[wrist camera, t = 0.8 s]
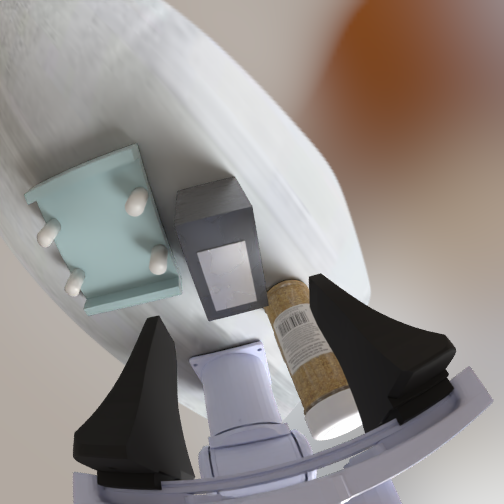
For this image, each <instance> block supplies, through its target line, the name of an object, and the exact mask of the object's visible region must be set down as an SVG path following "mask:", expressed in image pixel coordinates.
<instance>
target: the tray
mask: <svg viewBox="0 0 504 504" xmlns="http://www.w3.org/2000/svg"><path fill="white" fill-rule="evenodd" d="M24 196H25V199H26V201H27V204H28V205H29V204H31V203H33V202H35V201H37V203H38V206H39V208H40V211H41V213H42V215H43V218H44V220H45V222H46V225H45V226H44V227H43V228H42V229H41V230H40V232H39V233H38V234H37V241H38V243H39V244H40V245H41V246H42V247H48V246H49V245H50V244H51V243H52V241H53V240H54V241H55V244H56V246H57V248H58V249H59V251H60V253H61V255H62V257H63V259H64V261H65V263H66V265H67V267H68V268H69V270H70V272H71V275H70V277H69V279H68V281H67V283H66V285H65V291H66V293H67V294H68V295H70V296H73V297H75V296H77V295H78V294H79V291H80V289H81V291H82V292H83V294H84V296H85V297H86V299H87V300H86V303H85V306H84V311H85V312H86V314H87V315H88V316H90V315H95V314H99V313H104V312H108V311H113V310H117V309H122V308H126V307H130V306H135V305H139V304H143V303H148V302H152V301H156V300H160V299H165V298H169V297H173V296H177V295H181V294H182V278H181V275H180V273H179V270H178V267H177V265H176V262H175V259H174V257H173V254H172V251H171V249H170V246H169V243H168V240H167V237H166V235H165V232H164V229H163V226H162V223H161V220H160V217H159V214H158V211H157V208H156V205H155V202H154V199H153V196H152V193H151V189H150V186H149V183H148V180H147V176H146V173H145V169H144V166H143V163H142V159H141V155H140V152H139V148H138V145H137V143H136V144H133V145H130V146H127V147H124V148H121V149H119V150H116V151H113V152H110V153H108V154H105V155H103V156H100V157H97V158H95V159H92V160H90V161H87V162H85V163H83V164H80V165H78V166H76V167H73V168H71V169H69V170H67V171H64V172H62V173H60V174H58V175H56V176H54V177H52V178H50V179H48V180H46V181H44V182H42V183H40V184H38V185H36V186H35V187H33V188H32V189H31V190H29V191H28V192H27V193H26V194H24Z"/></svg>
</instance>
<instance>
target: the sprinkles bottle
mask: <svg viewBox="0 0 504 504" xmlns="http://www.w3.org/2000/svg"><path fill="white" fill-rule="evenodd" d="M267 297H268V303H269V306H266V307H263V308H264V310H265V313H266V314H267V315H268V318H269V320H270V323H271V326H272V328H273V331H274V336H275V339H276V342H277V344H278V347H279V349H280V352H281V355H282V357H283V360H284V362H285V363H286V365H287V368H288V370H289V373H290V376H291V378H292V380H293V383H294V385H295V388H296V391H297V393H298V395H299V397H300V399H301V402H302V405H303V407H304V415H305V421H306V423H307V426H308V428H309V430H310V433H311V435H312V437H313V438H314V439H316V440H327V439H331V438H335V437H337V436H340V435H343V434H345V433H347V432H349V431H351V430H353V429H355V428H357V427H358V426H360V425H362V421H361V418H360V415H359V412H358V409H357V406H356V403H355V400H354V398H353V395H352V392H351V390H350V387H349V385H348V382H347V380H346V378H345V375H344V373H343V371H342V368H341V366H340V364H339V362H338V360H337V358H336V356H335V355H334V353H333V351H332V350H331V348H330V346H329V344H328V343H327V341H326V339H325V338H324V336H323V334H322V332H321V331H320V329H319V327H318V325H317V323H316V321H315V319H314V317H313V314H312V312H311V309H310V304H309V289H308V287H307V286H306V285H305V284H304V283H303V282H301V281H298V280H286V281H283V282H280V283H278V284H277V285H275V286H274V287H272V288H271V289H270V290H269V291H268V292H267Z"/></svg>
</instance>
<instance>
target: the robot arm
mask: <svg viewBox="0 0 504 504" xmlns="http://www.w3.org/2000/svg"><path fill="white" fill-rule="evenodd" d="M309 304H310V309H311V312H312V314H313V317H314V319H315V321H316V323H317V325H318V327H319V329H320V331H321V332H322V334H323V336H324V338H325V339H326V341H327V343H328V344H329V346H330V348H331V350H332V351H333V353H334V355H335V356H336V358H337V360H338V362H339V364H340V366H341V368H342V371H343V373H344V375H345V378H346V380H347V382H348V385H349V387H350V390H351V392H352V395H353V398H354V400H355V403H356V406H357V409H358V412H359V415H360V418H361V421H362V424H363V428H364V431H365V434H363V435H361V436H358V437H356V438H354V439H352V440H349V441H347V442H344V443H342V444H339V445H337V446H334V447H332V448H329V449H327V450H324V451H321V452H318V453H315V454H313V452H312V449H311V446H310V444H309V442H308V440H307V439H306V437H305V436H304V435H303V434H302V433H300V432H299V431H297V430H295V429H294V430H290V429H289V426H288V424H287V423H283V422H282V419H281V416H280V413H279V409H278V406H277V403H276V400H275V397H274V394H273V391H272V388H271V383H272V382H271V378H270V373H269V369H268V364H267V359H266V355H265V350H264V346H263V343H262V342H255V343H251V344H247V345H244V346H240V347H236V348H232V349H228V350H223V351H219V352H215V353H211V354H206V355H202V356H197V357H192V358H190V359H189V363H190V365H191V366H192V368H193V370H194V371H195V373H196V374H197V376H198V378H199V379H200V381H201V382H202V384H203V390H204V397H205V404H206V410H207V417H208V423H209V429H210V435H211V437H209V438H208V439H209V445H210V446H204V447H203V448H202V450H201V451H200V452H199V456H198V457H199V458H198V459H199V469H200V474H201V479H194V478H195V475H194V472H193V469H192V466H191V462H190V459H189V456H188V452H187V448H186V445H185V440H184V436H183V431H182V426H181V421H180V415H179V409H178V396H177V360H176V352H175V345H174V341H173V340H172V338H171V336H170V334H169V333H168V331H167V329H166V327H165V325H164V324H163V322H162V320H161V318H160V316H154V317H150V318H147V320H146V322H145V324H144V326H143V329H142V331H141V333H140V335H139V338H138V340H137V342H136V344H135V347H134V349H133V351H132V353H131V355H130V357H129V359H128V361H127V363H126V365H125V367H124V369H123V371H122V373H121V375H120V377H119V378H118V380H117V382H116V383H115V385H114V387H113V388H112V390H111V391H110V392H109V394H108V395H107V397H106V398H105V399H104V401H103V402H102V404H101V405H100V406H99V407H98V409H97V410H96V411H95V412H94V413H93V414H92V416H91V417H90V418H89V419H88V420H87V421H86V422H85V423H84V424H83V425H82V426H81V427H80V428H79V429H78V430H77V431H76V432H75V434H74V445H73V457H74V459H75V460H76V461H78V462H80V463H81V464H83V465H86V466H88V467H90V468H92V469H95V470H97V476H96V475H92V474H86V473H78V472H74V473H73V499H74V501H73V502H74V504H402V502H401V500H400V498H399V496H398V493H397V491H396V489H395V487H394V485H393V482H392V480H391V479H392V478H393V477H395V476H397V475H399V474H400V473H402V472H404V471H406V470H407V469H409V468H411V467H412V466H414V465H415V464H417V463H418V462H420V461H421V460H423V459H425V458H426V457H427V456H429V455H430V454H432V453H433V452H435V451H436V450H438V449H439V448H440V447H441V446H443V445H444V444H446V443H447V442H448V441H450V440H451V439H452V438H453V437H454V436H456V435H457V434H458V433H460V432H461V431H462V430H463V429H464V428H466V427H467V426H468V425H469V424H470V423H471V422H473V421H474V420H475V419H476V418H477V417H478V416H479V415H480V414H481V413H482V412H484V410H486V409H487V408H488V407H489V406H490V405H491V404H492V403H493V399H492V397H491V396H490V394H489V393H488V391H487V390H486V388H485V387H484V386H483V384H482V383H481V381H480V380H479V378H478V377H477V375H476V374H475V373H474V371H473V370H472V368H471V367H470V366H468V367H467V368H465V369H464V370H463V371H462V372H460V373H459V374H458V375H456V376H455V377H454V378H453V379H452V380H451V381H449V380H448V378H447V377H448V375H449V373H448V372H447V370H446V368H447V366H448V365H449V363H450V362H451V360H452V359H453V357H454V355H455V353H456V348H455V347H454V346H453V344H452V343H451V342H450V340H449V339H448V338H447V337H446V336H445V335H444V334H439V333H434V332H429V331H426V330H422V329H419V328H415V327H412V326H409V325H407V324H404V323H402V322H399V321H396V320H394V319H392V318H389V317H387V316H385V315H383V314H381V313H379V312H377V311H376V310H373V309H372V308H370V307H368V306H367V305H365V304H364V303H362V302H360V301H359V300H357V299H356V298H354V297H353V296H351V295H350V294H348V293H347V292H345V291H344V290H343V289H341V288H340V287H339V286H337V285H336V284H334V283H333V282H332V281H330V280H329V279H328V278H326V277H325V276H324V275H322V274H321V273H320V274H317V275H314V276H310V277H309ZM367 449H368V450H367ZM364 450H366V451H364ZM362 451H364V452H362ZM360 452H362V453H360ZM358 453H360V454H358ZM355 454H358V455H356V456H355V457H353V458H351V459H350V460H349V463H348V464H346V465H345V466H344V469H342V470H340V471H337V472H334V473H331V474H328V475H325V476H322V477H319V478H316V473H317V469H319V468H322V467H325V466H328V465H331V464H333V463H336V462H339V461H341V460H343V459H346V458H348V457H351V456H353V455H355ZM205 493H206V494H207V495H193V494H205Z"/></svg>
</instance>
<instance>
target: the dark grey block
mask: <svg viewBox="0 0 504 504" xmlns="http://www.w3.org/2000/svg"><path fill="white" fill-rule="evenodd" d="M174 227H175V230H176V233H177V236H178V239H179V242H180V245H181V248H182V251H183V253H184V256H185V259H186V262H187V265H188V268H189V270H190V273H191V276H192V279H193V281H194V284H195V287H196V290H197V292H198V295H199V298H200V300H201V303H202V305H203V308H204V311H205V313H206V316H207V318H208V321H212V320H216V319H220V318H224V317H228V316H232V315H236V314H240V313H244V312H248V311H252V310H255V309H259V308H263V307H266V306H269V303H268V297H267V291H266V285H265V279H264V273H263V267H262V261H261V255H260V249H259V243H258V237H257V231H256V226H255V220H254V214H253V208H252V205H251V203H250V202H249V200H248V198H247V196H246V195H245V193H244V191H243V190H242V188H241V186H240V184H239V183H238V181H237V179H236V178H235V177H232V178H228V179H223V180H219V181H215V182H211V183H207V184H203V185H199V186H195V187H191V188H187V189H184V190H180V191H178V192H177V202H176V212H175V223H174Z"/></svg>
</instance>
